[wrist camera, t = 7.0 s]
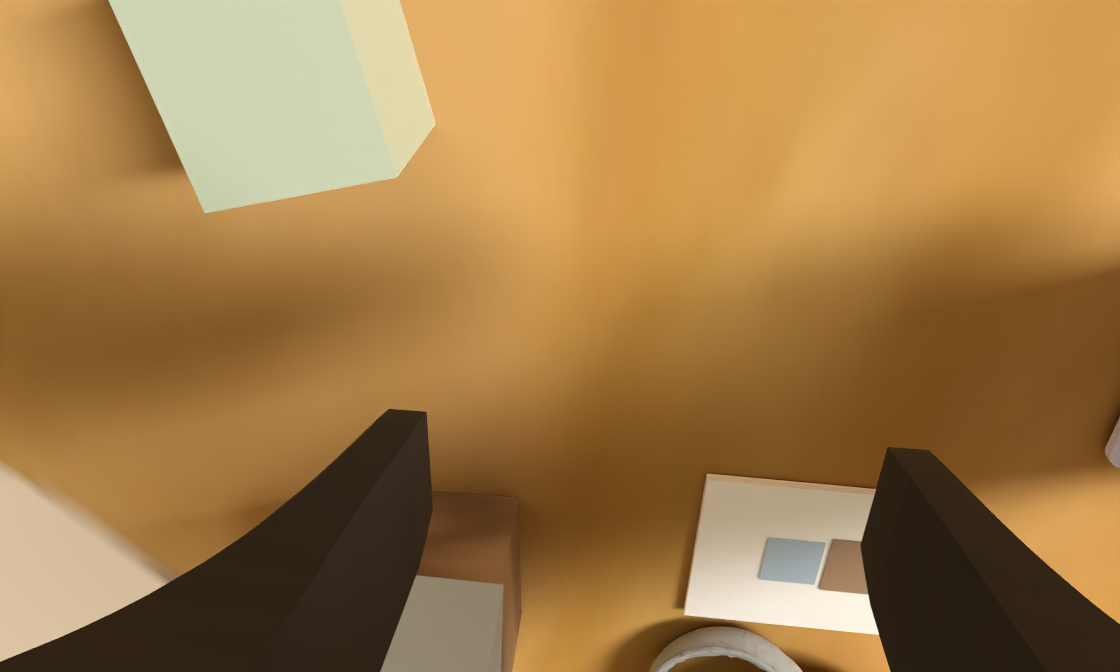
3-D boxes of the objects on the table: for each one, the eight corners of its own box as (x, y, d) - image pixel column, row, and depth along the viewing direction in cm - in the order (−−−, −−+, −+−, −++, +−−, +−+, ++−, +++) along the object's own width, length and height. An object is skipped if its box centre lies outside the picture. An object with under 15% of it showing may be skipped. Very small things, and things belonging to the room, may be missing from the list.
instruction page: (970, 497, 26) (974, 506, 26) (919, 631, 29) (922, 640, 29) (706, 473, 26) (707, 481, 26) (683, 608, 29) (683, 616, 29)
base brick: (518, 493, 28) (500, 585, 24) (521, 609, 30) (506, 707, 27) (356, 483, 28) (316, 572, 25) (374, 598, 31) (340, 694, 27)
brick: (379, -73, 19) (322, -53, 16) (437, 122, 22) (397, 177, 18) (199, -28, 20) (107, 0, 17) (272, 155, 23) (205, 213, 19)
